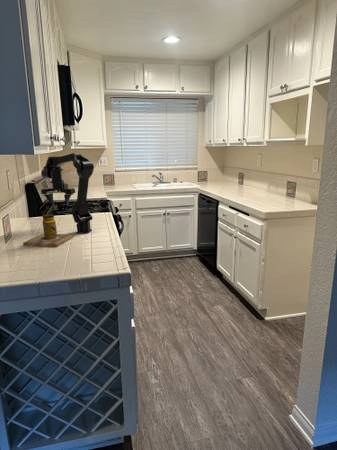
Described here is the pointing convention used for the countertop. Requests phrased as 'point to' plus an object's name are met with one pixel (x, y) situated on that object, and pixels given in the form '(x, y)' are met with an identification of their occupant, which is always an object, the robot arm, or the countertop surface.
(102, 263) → the countertop surface
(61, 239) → the walnut board
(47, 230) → the condiment
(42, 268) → the countertop surface
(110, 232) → the countertop surface
